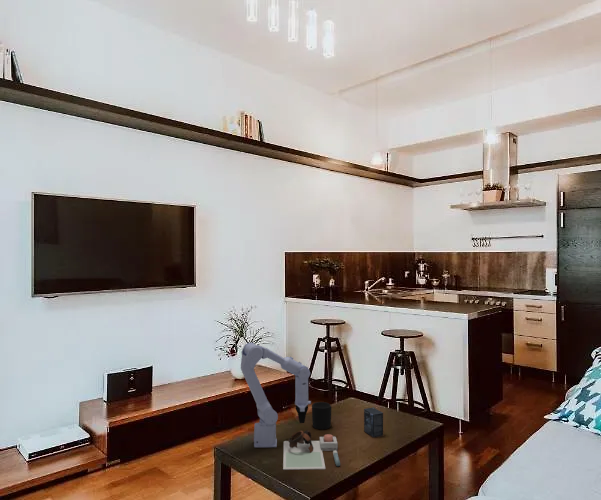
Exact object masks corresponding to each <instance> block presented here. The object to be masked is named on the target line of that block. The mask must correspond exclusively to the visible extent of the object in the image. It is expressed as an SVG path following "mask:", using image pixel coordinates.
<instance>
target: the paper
mask: <svg viewBox="0 0 601 500" xmlns="http://www.w3.org/2000/svg"><path fill="white" fill-rule="evenodd" d="M303 441H304V440H303ZM311 443H312V445H313V451H312V452H311V453H310V450H309V449H308V448H309V447H310V443H309V444H305V441H304V444H301V443H297V448H296V447H290V446H289V444H290V443H289V441H288V440H284V441H283V456H282V457H283V463H282V467H283V468H282V469H283V470H284V471H285V470H287V471H288V470H289V471H290V470H293V471H295V470H299V471H301V470H326V465H325V459H324V453H323V451H322V450H321V447H320V440H311Z"/></svg>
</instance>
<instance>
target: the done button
mask: <svg viewBox="0 0 601 500" xmlns="http://www.w3.org/2000/svg"><path fill="white" fill-rule="evenodd" d="M323 437H324V442H333V437H334V435H332V434H331V433H329V434H326V433H325V434H324V435H323Z"/></svg>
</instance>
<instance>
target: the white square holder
mask: <svg viewBox="0 0 601 500" xmlns="http://www.w3.org/2000/svg"><path fill="white" fill-rule="evenodd" d="M319 441H320V447H321V450H322V452H323V451H326V452H329V451H330V452H331V451H332V452H333V451H334V450H336V451H338V441H337V437H336V436H333V442H324V436H319Z"/></svg>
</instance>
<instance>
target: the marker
mask: <svg viewBox="0 0 601 500" xmlns="http://www.w3.org/2000/svg"><path fill="white" fill-rule="evenodd" d="M338 453H339V452H338V450H334V451H332V454H333V455H332V456H333V459H334V463H335V466H336V467H340V466H341V461H340V458H339V454H338Z"/></svg>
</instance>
